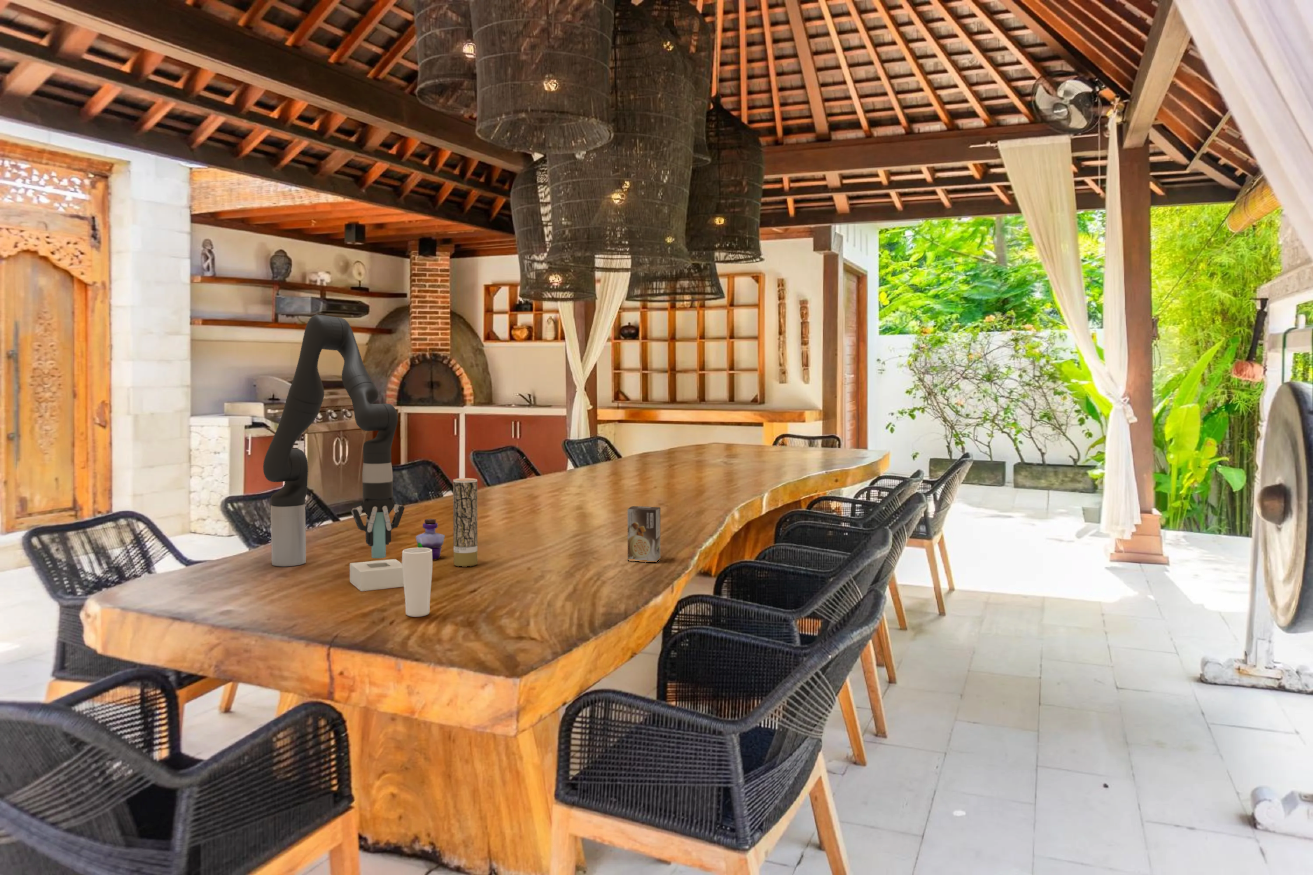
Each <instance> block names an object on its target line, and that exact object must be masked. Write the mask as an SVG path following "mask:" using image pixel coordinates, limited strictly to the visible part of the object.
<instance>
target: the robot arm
mask: <svg viewBox="0 0 1313 875" xmlns="http://www.w3.org/2000/svg"><path fill="white" fill-rule="evenodd" d="M301 342H302V343H301V346H300V352H299V356H298V361H297V365H296V367H295V370H294V371H295V372H294V375H293V378H292V382H291V384H290V388H288V389H289V390H288V392H287V396H286V400H285V403H284V407H283V410H282V414H281V416H280V420H279V422H278V424H277V428H276V430H275V433H274V435H273V438H272V440H271V442H270V444H269V446H268V449H267V450H266V453H265V455H264V460H263V467H262V471H263V475H264V477H265V479H266V480H268V481H269V482H271V483H284V485H283V486H282V488H280V489H279V490H278V491H277V492H275V493H273V494H272V495H271V497H270V528H271V529H270V534H271V536H270V537H271V538H270V539H271V540H270V541H271V542H270V543H271V544H270V546H271V565H272V566H275V567H293V566H295V567H296V566H299V565H300V566H301V565H304V564H306V562H307V548H306V547H307V544H306V543H307V541H306V540H307V539H306V538H307V537H306V531H307V530H306V497H307V495H308V483H309V482H308V480H309V478H308V477H309V462H308V457H307V455H306V454H305V452H304V451H303V450H302V449H300V448H293V447H294V444H295V443H296V442H297V440H298V439H299V437H300V436H301V435H302V434H303V433H305V431H306V430H307V429H308V428H310V426H311V425H312V424H313V422H314V421H315V420H316V419H317V417H318V416H319V413H320V410H321V407H322V405H323V402H324V398H325V388H324V384H323V382H322V378H321V375H320V373H319V367H318V364H319V358H320V355H321V352H322V350H329V351H337V352H338V353H339V354H340V356H341V357H342V358H343V367H342V371H341V381H342V385H343V387H344V389H345V391H346V393H347V394H348V396H349V398H350V400H351V403H352V408H353V414H354V421H355V423H356V425H357V427H359V428H360V429H361V430H363V431H365V432H376V431H378V432H377V434H376V436H375V437H374V438H372V439H369V440H366V441H364V443H363V446H362V455H363V456H362V460H363V461H362V462H363V463H362V464H363V465H362V473H361V474H362V476H361V477H362V478H361V479H362V502H361V503H360V505H359V506H357V507H352V508H351V510H350V512H351V515H352V517H353V520H354V522H355V524H356V526H357V528H358V530H360V531H364V532H365V543H366V544H367V546H368V547H371V546H373V532H372V527H373V524H374V520H375V516H376V512H383V514H384V519H385V525H386V546H388V545H390V544H389V543H391V542H392V530H393V529H396V528H398V527H399V525H400V522H401V519H402V517H403V514H404V511H405V506H404V505H401V504H395V501H394V498H393V495H394V494H393V488H394V487H393V486H394V484H393V480H394V474H393V467H392V466H393V465H392V446H393V441H394V437H395V432H396V429H397V427H398V423H399V422H398V421H399V420H398V419H399V418H398V416H399V415H398V412H397V409H396V408H395V406H393V405H392V404H391V403H375V402H376V401H377V400H378V397H379V392H378V389H377V387H376V386H375V383H374V382H373V380H372V378H371V377H370V375H369V373H368V371H367V369H366V366H365V363H364V362H363V360H362V355H361V353H360V349H359V347H358V342H357V341H356V337H355V334H354V331H353V329H352V327H351V325H350V323H349V321H348V320H346V319H344V318H343V317H340V316H338V317H337V316H331V315H324V314H315V315H312V316H311V317H310V318H309V319H308V321H307V323H306V325H305V329H304V333H303V337H302V340H301ZM393 509H394V510H393ZM392 510H393V511H394V515H393V518H392V521H391V519H390V514H391V512H392ZM362 511H363V512H364V514H365V515H366V519H365V525H364V523H363V520H362V518H361V516H362V515H363V514H362V513H363V512H362Z"/></svg>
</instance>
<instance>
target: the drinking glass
mask: <svg viewBox="0 0 1313 875" xmlns="http://www.w3.org/2000/svg"><path fill="white" fill-rule="evenodd" d="M401 553H402V554H401V563H402V573H403V583H404V587H403V593H404V600H405V601H404V604H405V615H406V616H408V617H414V618H420V617H425V616H428V615H429V614H430V611H431V610H430V606H431V604H430V603H431V589H432V578H433V560H432V549H429V548H418V547H410V548H404V549H403V550H402V552H401Z"/></svg>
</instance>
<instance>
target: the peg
mask: <svg viewBox="0 0 1313 875" xmlns="http://www.w3.org/2000/svg"><path fill="white" fill-rule="evenodd" d="M372 532H373V546H370V547H371V558H372V559H384V558H386V557H387V545H386V525H385V519H384V514H383V512H376V516H375V520H374V524H373V527H372Z"/></svg>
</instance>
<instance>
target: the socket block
mask: <svg viewBox="0 0 1313 875" xmlns="http://www.w3.org/2000/svg"><path fill="white" fill-rule="evenodd" d="M349 583H351V585H353V586H354V587H355V588H357V589H358V590H359V591H360V592H365V591H366V592H368V591H374V590H376V591H377V590H385V589H393V588H404V583H403V573H402V561H401V562H400V561H399V560H397V559H396V558H391V559H381V560H371V561H369V560H368V561H360V562H350V563H349Z"/></svg>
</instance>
